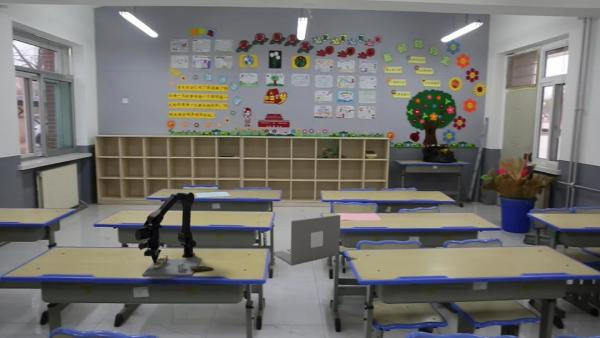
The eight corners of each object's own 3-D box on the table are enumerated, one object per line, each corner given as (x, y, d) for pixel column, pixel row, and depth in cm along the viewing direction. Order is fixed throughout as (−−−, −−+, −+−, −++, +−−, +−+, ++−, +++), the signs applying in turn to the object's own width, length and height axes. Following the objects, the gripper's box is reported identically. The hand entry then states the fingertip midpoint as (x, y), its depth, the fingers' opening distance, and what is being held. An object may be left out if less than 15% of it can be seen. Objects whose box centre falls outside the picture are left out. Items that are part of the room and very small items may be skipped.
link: (159, 269, 229) (159, 263, 229) (152, 269, 229) (152, 263, 229) (168, 258, 247) (168, 253, 247) (161, 258, 247) (161, 253, 247)
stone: (189, 271, 228) (189, 267, 228) (189, 268, 233) (189, 264, 232) (213, 271, 231) (213, 268, 231) (213, 268, 236) (213, 264, 235)
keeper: (180, 267, 233) (180, 261, 233) (185, 267, 233) (185, 261, 233) (177, 271, 227) (177, 265, 227) (183, 271, 227) (183, 265, 227)
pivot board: (156, 260, 247) (156, 258, 247) (200, 260, 248) (200, 259, 248) (142, 275, 222) (142, 274, 222) (191, 276, 223) (191, 274, 223)
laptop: (315, 246, 281) (316, 207, 278) (339, 257, 260) (340, 215, 256) (270, 254, 263) (270, 212, 260) (291, 267, 241) (292, 221, 238)
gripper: (145, 232, 244) (146, 257, 246) (133, 241, 226) (134, 269, 228) (164, 232, 245) (165, 258, 246) (154, 241, 226) (155, 269, 228)
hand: (154, 263), depth 237 cm, fingers closed
